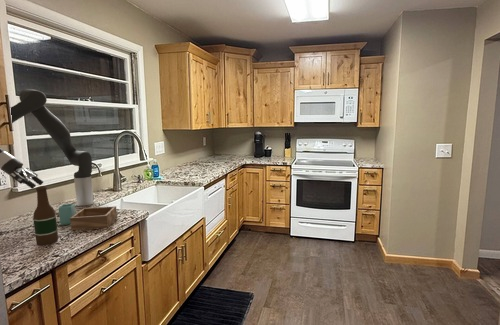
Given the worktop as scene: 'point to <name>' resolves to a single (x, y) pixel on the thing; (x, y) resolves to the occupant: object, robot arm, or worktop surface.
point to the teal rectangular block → (66, 213)
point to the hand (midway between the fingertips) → (38, 185)
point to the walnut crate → (93, 218)
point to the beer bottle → (44, 219)
